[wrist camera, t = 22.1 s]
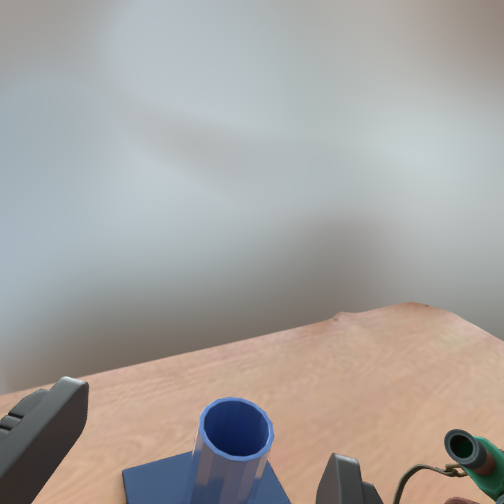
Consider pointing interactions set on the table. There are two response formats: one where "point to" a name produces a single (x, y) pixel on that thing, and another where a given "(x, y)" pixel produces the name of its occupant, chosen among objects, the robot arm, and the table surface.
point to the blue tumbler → (228, 453)
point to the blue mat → (184, 483)
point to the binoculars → (468, 466)
